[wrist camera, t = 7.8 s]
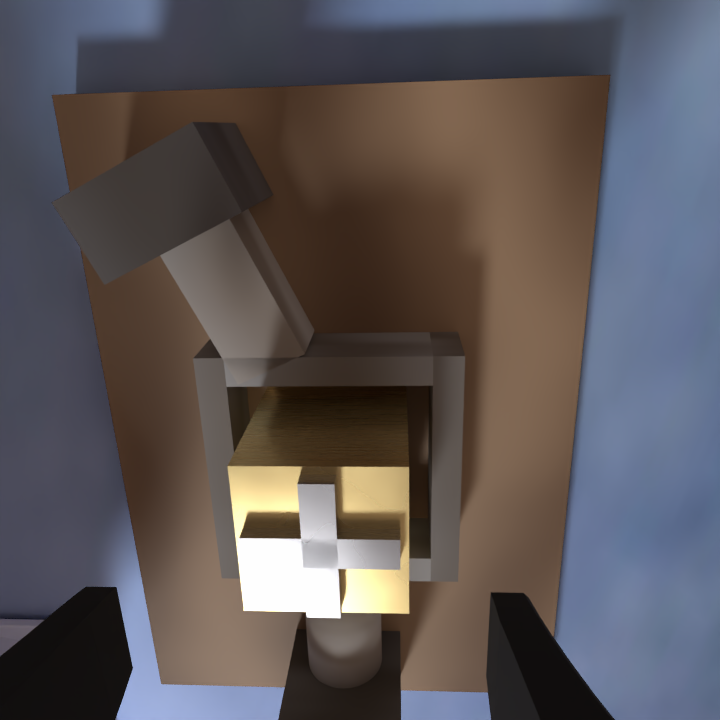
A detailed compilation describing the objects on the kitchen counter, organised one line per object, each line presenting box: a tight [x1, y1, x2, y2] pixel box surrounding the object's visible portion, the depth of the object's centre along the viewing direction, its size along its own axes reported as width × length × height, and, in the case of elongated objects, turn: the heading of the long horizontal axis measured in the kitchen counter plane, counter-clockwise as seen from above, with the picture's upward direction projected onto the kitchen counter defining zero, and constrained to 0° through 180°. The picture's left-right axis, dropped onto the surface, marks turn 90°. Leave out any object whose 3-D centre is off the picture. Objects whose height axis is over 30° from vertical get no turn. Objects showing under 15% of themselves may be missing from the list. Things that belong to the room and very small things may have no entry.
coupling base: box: [52, 75, 610, 720], centre depth 18 cm, size 14×20×5 cm
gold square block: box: [227, 386, 409, 618], centre depth 16 cm, size 4×4×5 cm
